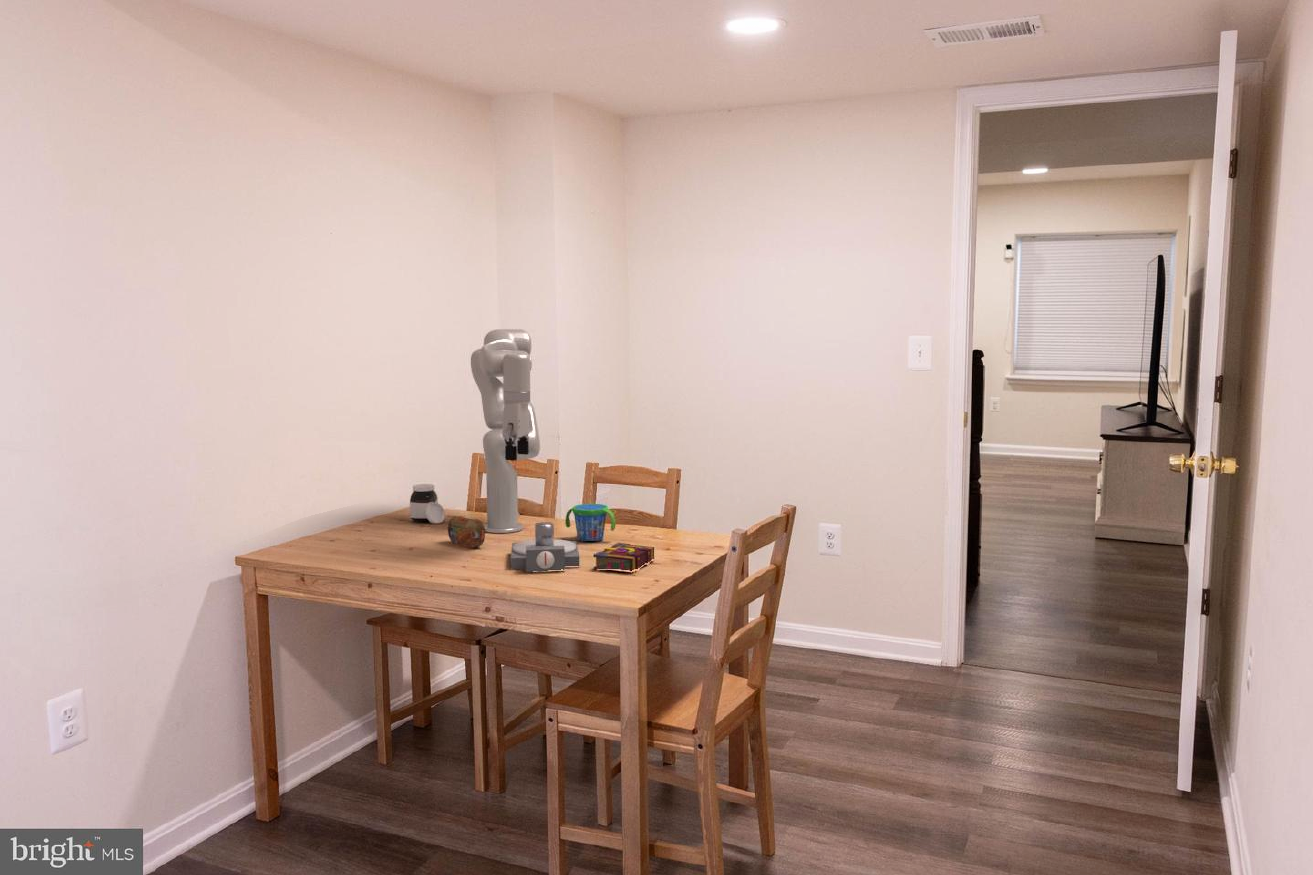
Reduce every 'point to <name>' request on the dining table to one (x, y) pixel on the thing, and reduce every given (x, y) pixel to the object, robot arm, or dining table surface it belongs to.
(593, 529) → the snack cup
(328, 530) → the dining table surface
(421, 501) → the spread jar
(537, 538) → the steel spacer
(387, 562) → the dining table surface
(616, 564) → the decorative book
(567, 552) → the scale
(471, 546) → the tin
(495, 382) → the robot arm
